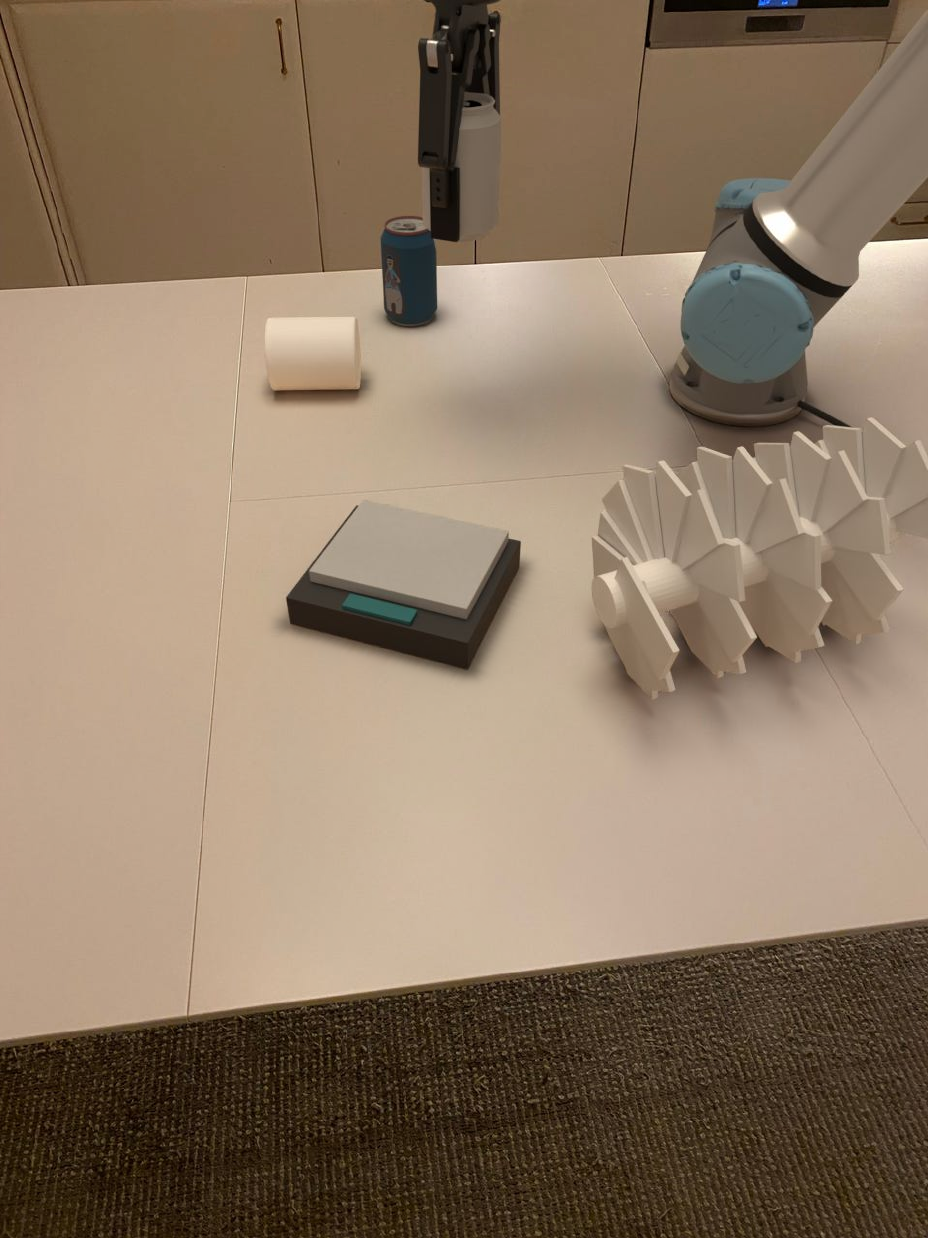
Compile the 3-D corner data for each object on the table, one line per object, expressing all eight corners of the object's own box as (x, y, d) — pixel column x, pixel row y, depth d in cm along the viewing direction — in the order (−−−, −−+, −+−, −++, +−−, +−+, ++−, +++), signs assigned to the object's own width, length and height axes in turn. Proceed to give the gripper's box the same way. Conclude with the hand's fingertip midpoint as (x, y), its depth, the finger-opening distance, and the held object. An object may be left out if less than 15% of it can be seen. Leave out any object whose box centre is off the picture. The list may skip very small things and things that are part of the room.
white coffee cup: (358, 401, 108) (353, 335, 103) (270, 403, 108) (261, 337, 103) (363, 353, 117) (358, 290, 112) (282, 354, 117) (273, 291, 112)
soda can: (440, 306, 127) (439, 214, 119) (433, 329, 122) (432, 235, 114) (389, 304, 128) (384, 212, 120) (380, 327, 123) (375, 232, 115)
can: (509, 239, 93) (514, 103, 85) (436, 248, 91) (435, 111, 83) (482, 213, 98) (484, 83, 90) (413, 222, 96) (409, 90, 88)
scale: (519, 567, 86) (521, 529, 83) (467, 670, 77) (468, 631, 74) (358, 530, 90) (355, 494, 87) (289, 624, 81) (283, 586, 78)
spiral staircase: (572, 673, 82) (818, 595, 88) (676, 751, 66) (969, 648, 71) (536, 465, 76) (801, 396, 82) (640, 494, 60) (962, 405, 66)
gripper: (465, -74, 87) (463, 187, 102) (367, -42, 73) (382, 255, 88) (543, -70, 85) (529, 197, 100) (457, -36, 71) (457, 267, 86)
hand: (460, 224), depth 94 cm, fingers closed on can, 7 cm apart
